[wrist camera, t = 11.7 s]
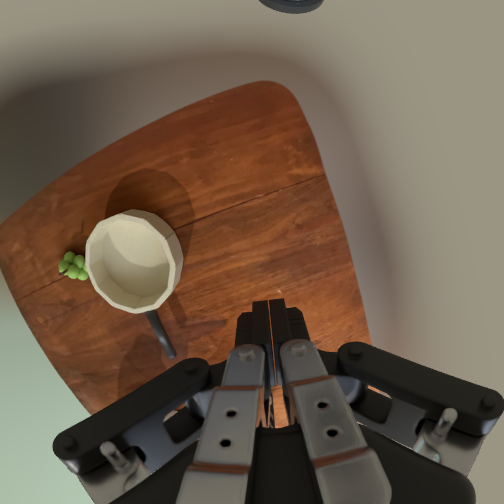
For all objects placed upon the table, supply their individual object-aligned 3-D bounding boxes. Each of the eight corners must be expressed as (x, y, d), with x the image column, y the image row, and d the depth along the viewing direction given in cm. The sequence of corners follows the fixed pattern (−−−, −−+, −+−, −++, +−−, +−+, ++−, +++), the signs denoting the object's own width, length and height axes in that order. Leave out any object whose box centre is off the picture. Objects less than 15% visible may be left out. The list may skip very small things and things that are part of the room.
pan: (88, 227, 38) (72, 233, 34) (164, 196, 37) (153, 200, 33) (144, 351, 44) (135, 367, 40) (217, 338, 43) (213, 355, 39)
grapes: (62, 267, 40) (43, 279, 35) (65, 244, 39) (46, 253, 33) (92, 284, 41) (75, 298, 35) (97, 260, 40) (79, 272, 34)
